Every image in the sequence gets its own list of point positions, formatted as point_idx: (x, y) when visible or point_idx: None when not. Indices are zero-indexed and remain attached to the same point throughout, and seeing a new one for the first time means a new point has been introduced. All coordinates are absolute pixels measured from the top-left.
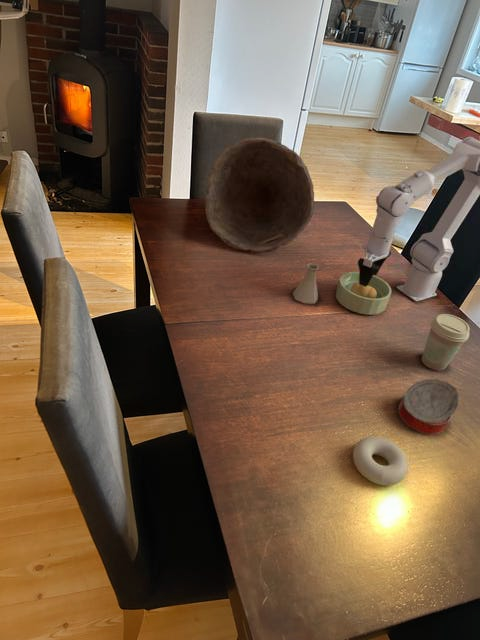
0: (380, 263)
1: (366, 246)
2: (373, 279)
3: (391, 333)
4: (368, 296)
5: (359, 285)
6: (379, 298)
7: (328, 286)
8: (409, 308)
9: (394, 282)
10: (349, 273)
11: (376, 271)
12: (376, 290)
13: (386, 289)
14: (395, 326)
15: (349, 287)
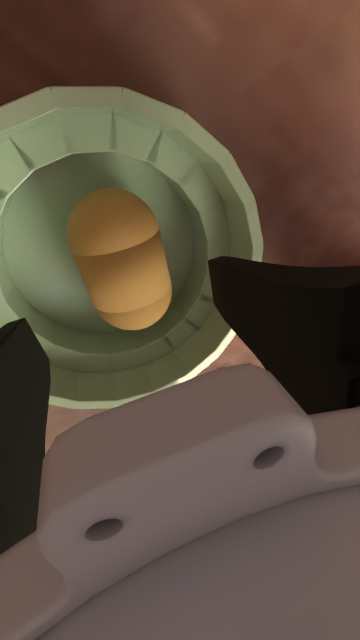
0: (267, 361)
1: (146, 558)
2: (242, 249)
3: (46, 429)
4: (99, 313)
5: (100, 255)
6: (77, 401)
7: (51, 6)
8: (229, 365)
9: (353, 241)
10: (148, 116)
11: (227, 317)
12: (200, 283)
13: (209, 336)
14: (95, 409)
15: (127, 156)
